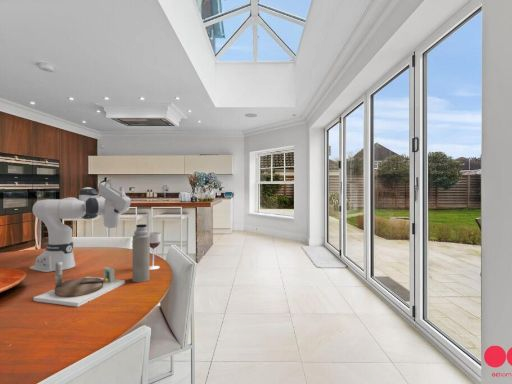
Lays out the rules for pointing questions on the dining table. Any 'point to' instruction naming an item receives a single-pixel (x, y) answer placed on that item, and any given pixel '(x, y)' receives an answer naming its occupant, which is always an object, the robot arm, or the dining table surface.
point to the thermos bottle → (141, 254)
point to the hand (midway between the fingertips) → (115, 183)
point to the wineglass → (154, 246)
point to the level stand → (82, 299)
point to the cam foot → (75, 284)
